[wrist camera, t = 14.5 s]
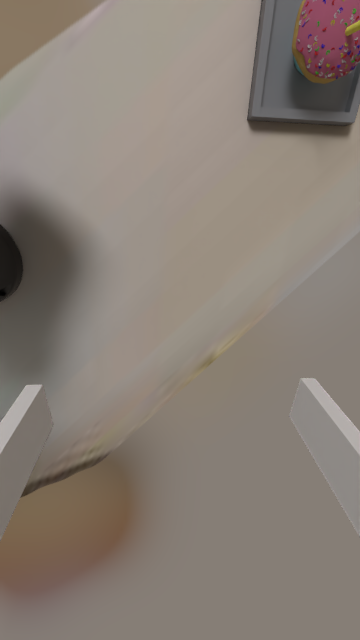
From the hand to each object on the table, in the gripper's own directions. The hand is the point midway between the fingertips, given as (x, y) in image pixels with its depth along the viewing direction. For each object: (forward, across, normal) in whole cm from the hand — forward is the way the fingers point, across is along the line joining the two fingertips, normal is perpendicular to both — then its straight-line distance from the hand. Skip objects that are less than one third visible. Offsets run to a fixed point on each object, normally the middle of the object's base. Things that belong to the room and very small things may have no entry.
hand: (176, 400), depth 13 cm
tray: (+32, +18, +26) cm, 45 cm away
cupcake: (+31, +18, +26) cm, 44 cm away
